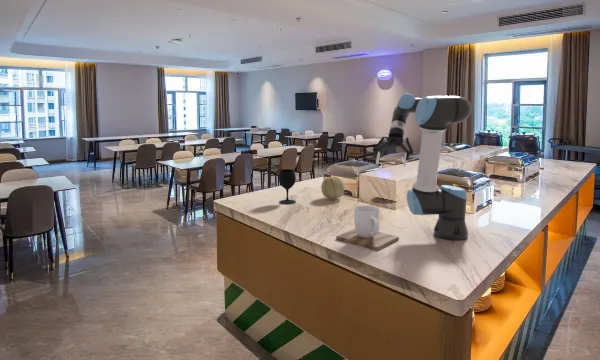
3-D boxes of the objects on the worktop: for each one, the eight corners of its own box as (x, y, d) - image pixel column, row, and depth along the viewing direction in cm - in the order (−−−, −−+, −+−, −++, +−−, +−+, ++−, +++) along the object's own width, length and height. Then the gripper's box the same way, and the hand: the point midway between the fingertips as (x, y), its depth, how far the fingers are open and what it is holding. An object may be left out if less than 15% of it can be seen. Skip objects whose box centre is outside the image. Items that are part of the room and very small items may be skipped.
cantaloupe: (343, 202, 261) (343, 178, 258) (319, 201, 264) (319, 177, 261) (345, 196, 275) (345, 174, 272) (323, 195, 278) (323, 173, 275)
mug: (387, 240, 188) (388, 211, 186) (366, 243, 184) (367, 214, 181) (369, 230, 202) (370, 204, 199) (349, 233, 197) (349, 206, 195)
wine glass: (276, 203, 258) (276, 171, 255) (282, 199, 268) (281, 168, 264) (292, 204, 255) (292, 172, 252) (298, 200, 265) (297, 169, 261)
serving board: (398, 239, 193) (398, 236, 193) (377, 250, 180) (377, 247, 180) (358, 230, 208) (358, 227, 207) (336, 239, 194) (336, 236, 194)
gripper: (421, 136, 220) (416, 169, 210) (374, 135, 230) (367, 167, 219) (421, 127, 215) (415, 160, 204) (372, 126, 224) (364, 158, 213)
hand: (390, 164), depth 212 cm, fingers open, 13 cm apart
